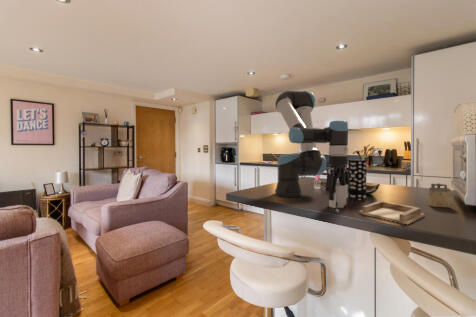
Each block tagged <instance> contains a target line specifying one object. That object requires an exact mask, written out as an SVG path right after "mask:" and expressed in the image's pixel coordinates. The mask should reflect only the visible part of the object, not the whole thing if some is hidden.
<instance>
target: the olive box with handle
mask: <svg viewBox="0 0 476 317" xmlns="http://www.w3.org/2000/svg"><path fill="white" fill-rule="evenodd" d="M436 186H437V187H436ZM447 186H448V184H445V183H444V184H443V183H440V182H439V183H438V182H437V183H431V184H430V187H429V188H428V206H430V207H436V208H450V207H451V203H450V202H451V188H448V187H447Z"/></svg>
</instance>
